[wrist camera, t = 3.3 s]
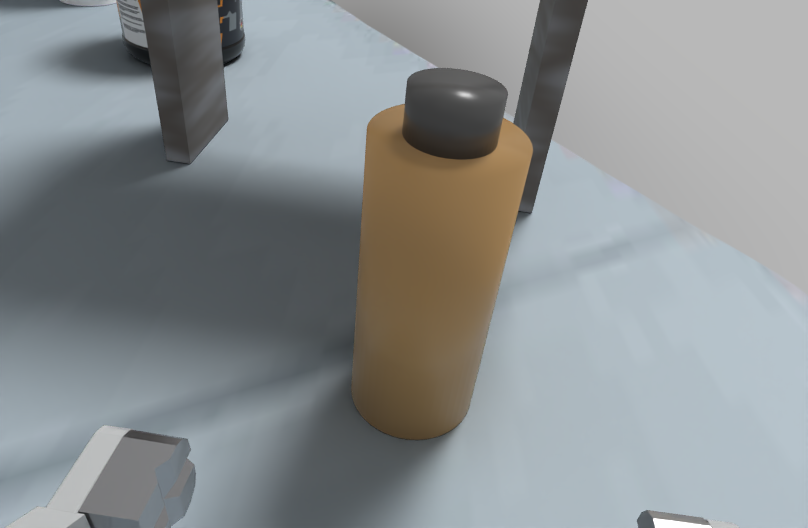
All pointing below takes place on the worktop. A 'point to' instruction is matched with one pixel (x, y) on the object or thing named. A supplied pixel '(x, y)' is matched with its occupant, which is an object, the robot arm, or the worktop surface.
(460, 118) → the amber bottle
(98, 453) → the robot arm
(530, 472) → the worktop surface
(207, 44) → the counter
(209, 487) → the worktop surface
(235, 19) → the supplement container
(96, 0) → the foam cup
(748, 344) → the worktop surface
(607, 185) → the worktop surface
